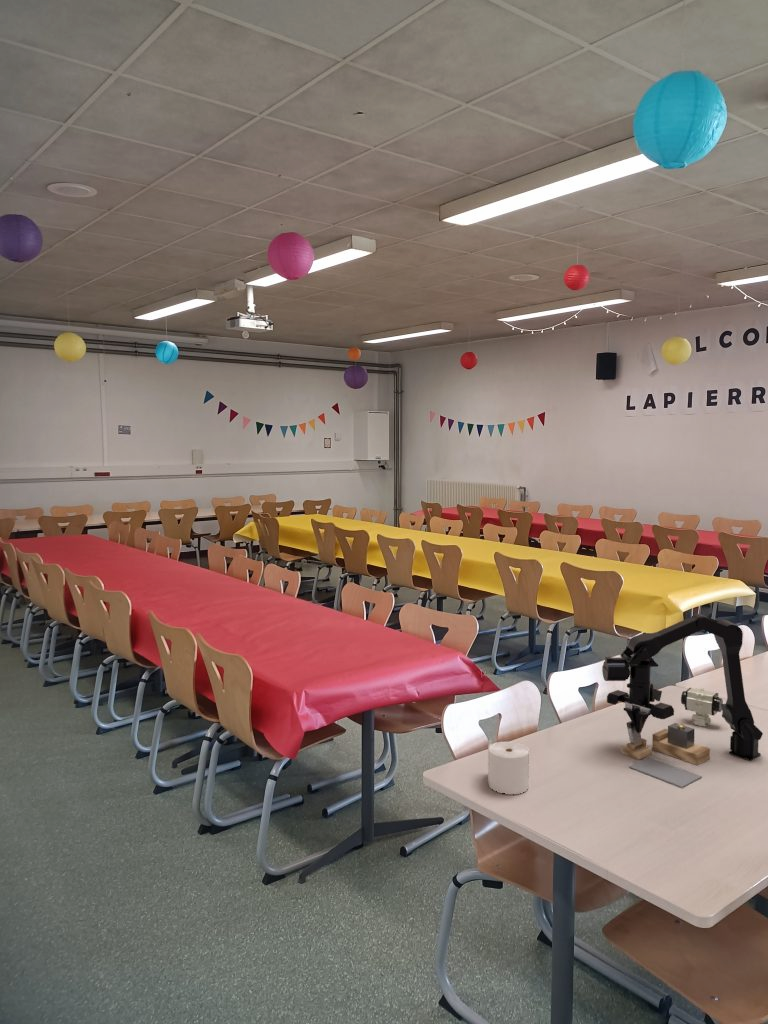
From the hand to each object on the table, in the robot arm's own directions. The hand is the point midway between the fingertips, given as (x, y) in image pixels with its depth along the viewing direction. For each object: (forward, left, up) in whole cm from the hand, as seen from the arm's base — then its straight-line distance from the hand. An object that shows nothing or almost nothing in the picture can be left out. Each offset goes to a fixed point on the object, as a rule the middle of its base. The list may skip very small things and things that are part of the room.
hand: (638, 732), depth 210 cm
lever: (+1, 0, -4) cm, 4 cm away
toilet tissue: (+11, +45, -7) cm, 47 cm away
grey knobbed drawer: (-7, -10, -4) cm, 13 cm away
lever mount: (+1, 0, -7) cm, 7 cm away
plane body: (-7, -10, -7) cm, 14 cm away
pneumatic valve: (+1, -36, -7) cm, 37 cm away
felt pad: (-11, +5, -7) cm, 14 cm away
